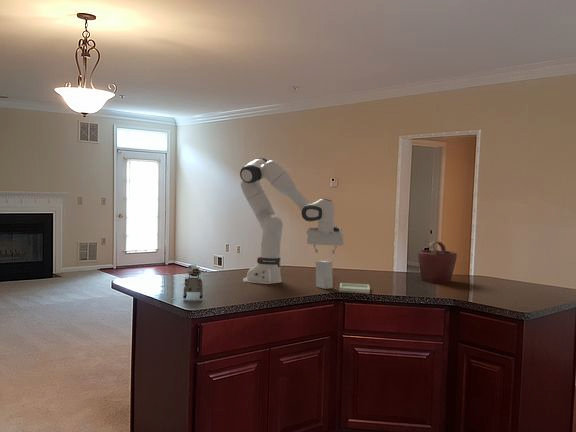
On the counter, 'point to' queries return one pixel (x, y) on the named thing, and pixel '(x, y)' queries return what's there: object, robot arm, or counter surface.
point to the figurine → (193, 281)
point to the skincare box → (324, 274)
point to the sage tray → (354, 288)
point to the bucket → (436, 264)
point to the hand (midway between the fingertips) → (324, 253)
